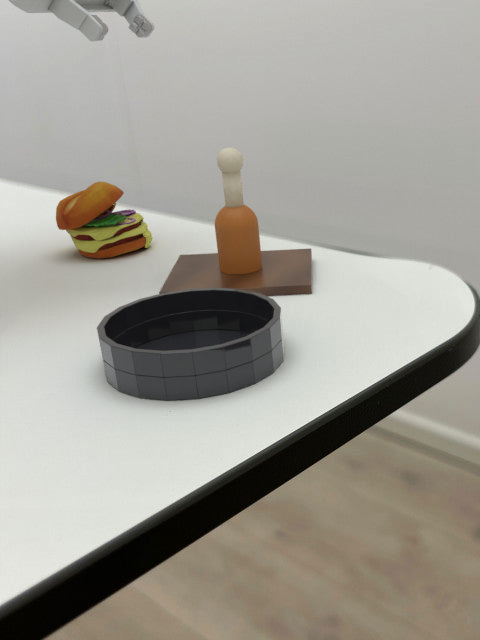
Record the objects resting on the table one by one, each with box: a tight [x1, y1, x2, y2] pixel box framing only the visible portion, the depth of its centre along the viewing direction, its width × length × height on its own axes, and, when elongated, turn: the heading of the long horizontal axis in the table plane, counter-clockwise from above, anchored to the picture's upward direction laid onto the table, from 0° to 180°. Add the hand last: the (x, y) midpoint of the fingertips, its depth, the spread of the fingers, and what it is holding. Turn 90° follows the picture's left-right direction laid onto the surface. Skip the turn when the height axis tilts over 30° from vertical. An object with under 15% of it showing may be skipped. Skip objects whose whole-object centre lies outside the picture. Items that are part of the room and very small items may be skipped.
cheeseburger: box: [55, 181, 153, 260], centre depth 100 cm, size 10×11×10 cm
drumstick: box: [214, 147, 262, 275], centre depth 85 cm, size 5×5×13 cm
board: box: [158, 247, 313, 297], centre depth 87 cm, size 16×14×2 cm
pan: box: [96, 288, 285, 402], centre depth 66 cm, size 15×15×4 cm
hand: (126, 34), depth 78 cm, fingers open, 8 cm apart
